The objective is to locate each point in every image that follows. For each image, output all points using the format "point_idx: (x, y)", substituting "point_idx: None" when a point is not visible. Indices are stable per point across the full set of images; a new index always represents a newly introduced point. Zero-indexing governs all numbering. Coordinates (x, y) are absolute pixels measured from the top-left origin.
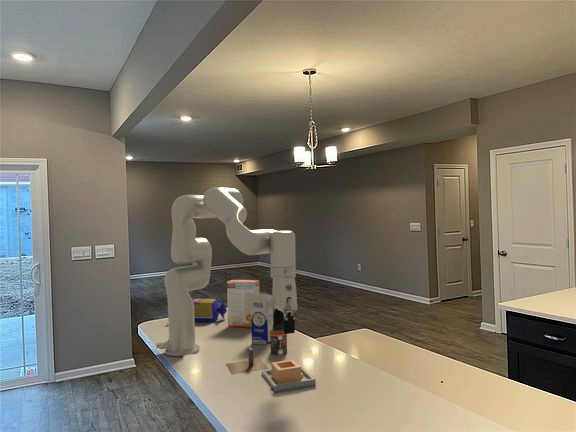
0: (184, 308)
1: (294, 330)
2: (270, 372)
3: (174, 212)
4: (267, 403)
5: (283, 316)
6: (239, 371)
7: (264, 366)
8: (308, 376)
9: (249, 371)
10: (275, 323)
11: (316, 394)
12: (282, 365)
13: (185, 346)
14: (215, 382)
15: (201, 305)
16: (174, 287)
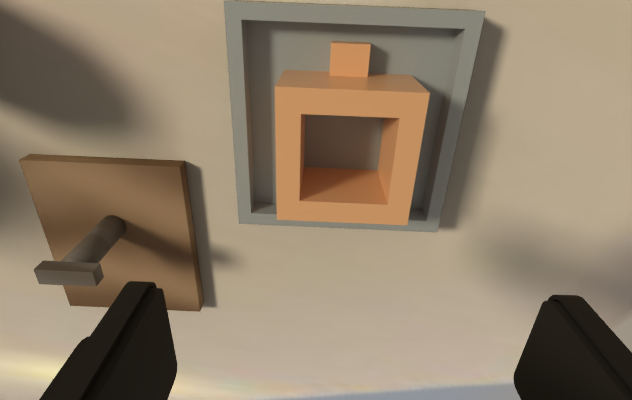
0: None
1: (591, 312)
2: (252, 184)
3: None
4: (493, 261)
5: (109, 374)
6: (178, 282)
7: (144, 176)
8: (408, 25)
9: (190, 250)
10: (170, 380)
11: (558, 54)
12: (301, 159)
13: None
14: (231, 350)
15: None
16: None
